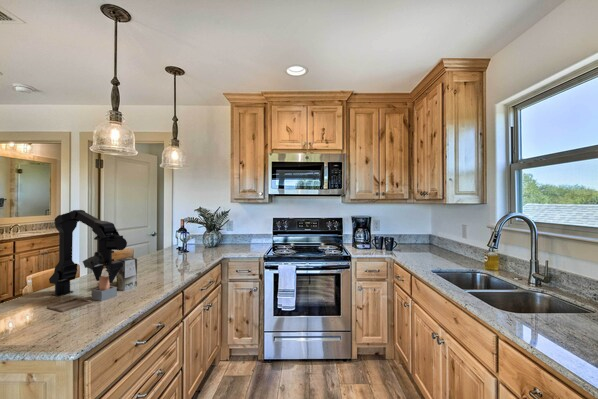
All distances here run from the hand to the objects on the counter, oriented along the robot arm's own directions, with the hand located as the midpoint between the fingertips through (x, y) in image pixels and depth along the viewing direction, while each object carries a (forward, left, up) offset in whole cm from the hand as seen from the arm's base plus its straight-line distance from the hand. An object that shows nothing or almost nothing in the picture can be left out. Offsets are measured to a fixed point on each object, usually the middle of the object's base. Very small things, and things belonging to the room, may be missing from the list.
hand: (104, 281), depth 128 cm
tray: (-4, -12, -8) cm, 15 cm away
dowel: (0, 0, -8) cm, 8 cm away
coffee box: (-4, +14, -8) cm, 17 cm away
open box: (0, 0, -8) cm, 8 cm away
